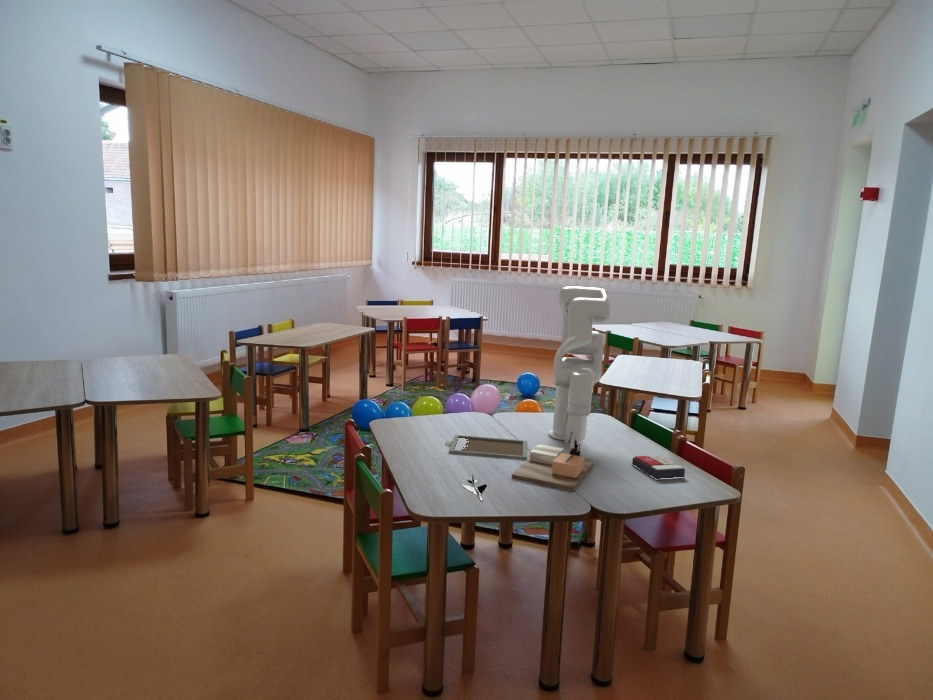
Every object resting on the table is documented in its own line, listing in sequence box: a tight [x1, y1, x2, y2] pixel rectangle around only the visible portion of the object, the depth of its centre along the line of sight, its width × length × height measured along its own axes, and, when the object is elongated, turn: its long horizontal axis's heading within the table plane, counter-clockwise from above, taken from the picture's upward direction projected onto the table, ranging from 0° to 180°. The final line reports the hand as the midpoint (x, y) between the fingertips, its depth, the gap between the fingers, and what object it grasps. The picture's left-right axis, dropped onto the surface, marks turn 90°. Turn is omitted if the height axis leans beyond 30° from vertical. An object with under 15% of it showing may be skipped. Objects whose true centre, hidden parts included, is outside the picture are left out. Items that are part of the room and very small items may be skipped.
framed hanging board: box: [444, 434, 528, 461], centre depth 229 cm, size 19×2×30 cm
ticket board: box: [511, 443, 595, 492], centre depth 208 cm, size 28×20×4 cm
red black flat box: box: [631, 454, 686, 479], centre depth 214 cm, size 11×4×15 cm
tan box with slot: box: [552, 453, 586, 478], centre depth 204 cm, size 10×8×4 cm
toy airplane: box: [461, 474, 488, 502], centre depth 190 cm, size 8×21×2 cm, turn 10°
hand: (574, 461), depth 211 cm, fingers closed
